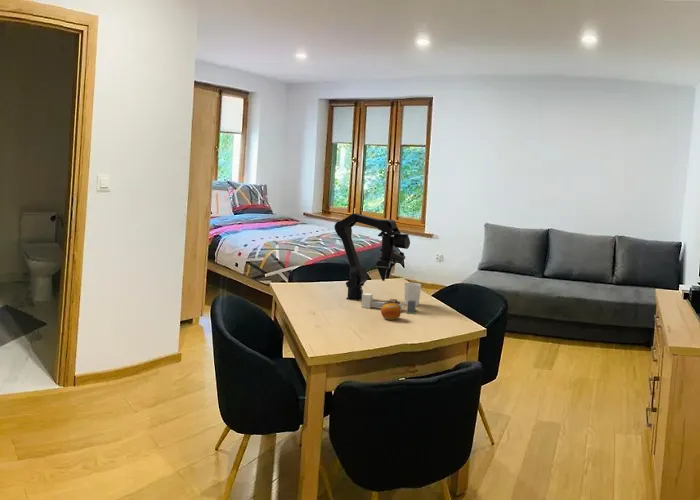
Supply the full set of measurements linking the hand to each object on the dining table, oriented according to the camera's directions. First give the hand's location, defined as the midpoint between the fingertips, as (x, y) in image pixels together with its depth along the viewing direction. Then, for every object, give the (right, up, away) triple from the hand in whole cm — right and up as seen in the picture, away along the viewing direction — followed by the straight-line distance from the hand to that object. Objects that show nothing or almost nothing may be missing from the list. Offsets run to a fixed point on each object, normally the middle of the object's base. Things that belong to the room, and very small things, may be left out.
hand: (385, 279), depth 293 cm
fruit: (0, -16, -27) cm, 31 cm away
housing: (+6, -14, -11) cm, 19 cm away
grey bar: (-2, -13, -8) cm, 16 cm away
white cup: (+13, -12, +4) cm, 18 cm away
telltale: (+11, -14, -12) cm, 22 cm away
